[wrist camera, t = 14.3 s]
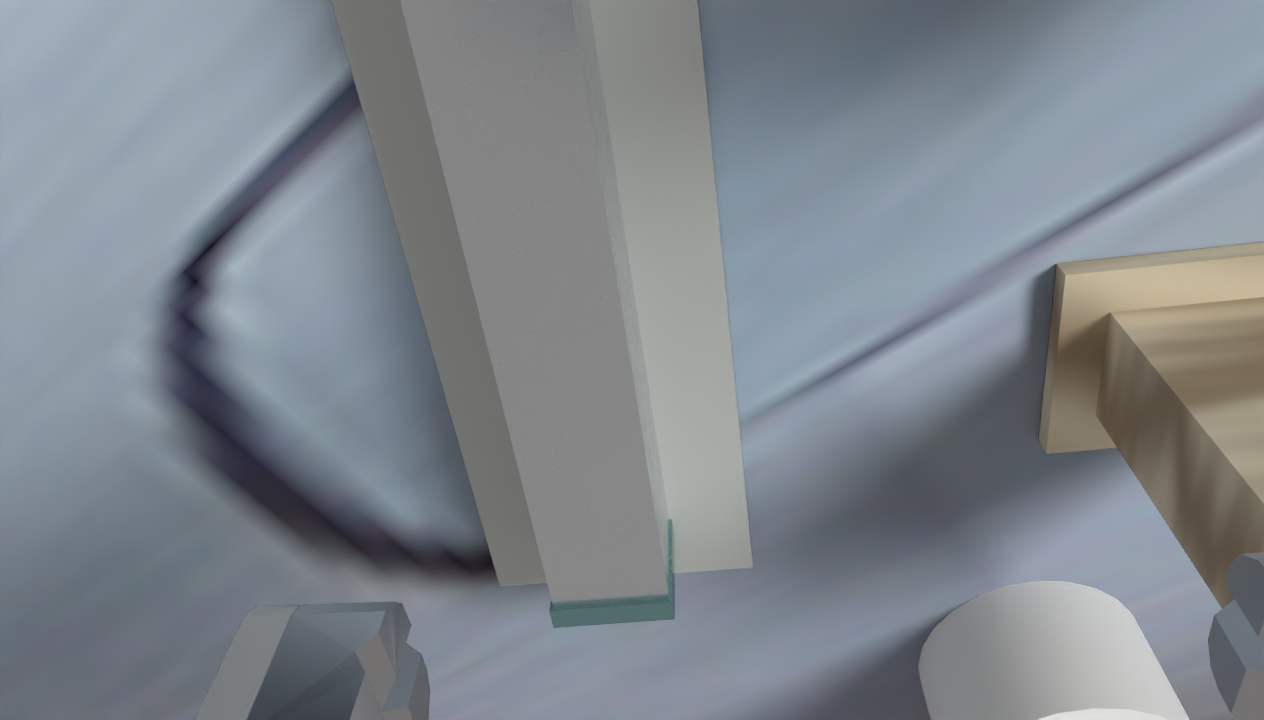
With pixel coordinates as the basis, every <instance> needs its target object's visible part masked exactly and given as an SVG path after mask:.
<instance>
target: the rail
mask: <svg viewBox="0 0 1264 720" xmlns="http://www.w3.org/2000/svg"><path fill="white" fill-rule="evenodd" d="M400 2H401V6H402V10H403V14H404V18H405V22H406V26H407V30H408V34H409V38H410V42H411V46H412V50H413V54H414V58H415V62H416V66H417V70H418V74H419V78H420V81H421V85H422V89H423V93H424V97H425V101H426V105H427V109H428V113H429V117H430V121H431V125H432V129H433V133H434V137H435V141H436V145H437V149H438V153H439V157H440V161H441V165H442V169H443V173H444V177H445V181H446V185H447V188H448V192H449V196H450V200H451V204H452V208H453V212H454V216H455V220H456V224H457V228H458V232H459V236H460V240H461V244H462V248H463V252H464V256H465V260H466V264H467V268H468V272H469V276H470V280H471V284H472V288H473V292H474V296H475V299H476V303H477V307H478V311H479V315H480V319H481V323H482V327H483V331H484V335H485V339H486V343H487V347H488V351H489V355H490V359H491V363H492V367H493V371H494V375H495V379H496V383H497V387H498V391H499V395H500V399H501V403H502V407H503V410H504V414H505V418H506V422H507V426H508V430H509V434H510V438H511V442H512V446H513V450H514V454H515V458H516V462H517V466H518V470H519V474H520V478H521V482H522V486H523V490H524V494H525V498H526V502H527V506H528V510H529V514H530V518H531V521H532V525H533V529H534V533H535V537H536V541H537V545H538V549H539V553H540V557H541V561H542V565H543V569H544V573H545V577H546V581H547V585H548V589H549V593H550V597H551V605H550V615H551V619H552V623H553V627H554V628H558V627H572V626H586V625H600V624H614V623H628V622H642V621H656V620H670V619H675V584H674V530H673V524H672V519H669V515H668V508H667V502H666V495H665V489H664V482H663V476H662V469H661V463H660V457H659V450H658V444H657V437H656V431H655V424H654V418H653V411H652V405H651V398H650V392H649V385H648V379H647V372H646V366H645V359H644V353H643V346H642V340H641V333H640V327H639V320H638V314H637V307H636V301H635V294H634V288H633V281H632V275H631V268H630V262H629V255H628V249H627V242H626V236H625V229H624V223H623V216H622V210H621V203H620V197H619V190H618V184H617V177H616V171H615V164H614V158H613V151H612V145H611V138H610V132H609V125H608V119H607V112H606V106H605V99H604V93H603V86H602V80H601V73H600V67H599V60H598V54H597V47H596V41H595V34H594V28H593V21H592V15H591V8H590V2H589V0H400Z"/></svg>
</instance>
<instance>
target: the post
mask: <svg viewBox="0 0 1264 720" xmlns="http://www.w3.org/2000/svg"><path fill="white" fill-rule="evenodd" d="M1039 442H1040V444H1041V446H1042V447H1043V449H1044V451H1045V453H1046V454H1053V453H1065V452H1076V451H1088V450H1100V449H1111V448H1118V450H1119V451H1120V453H1121V454H1122V456H1123V458H1124V459H1125V461H1126V462H1127V464H1128V465H1129V467H1130V468H1131V470H1132V471H1133V473H1134V474H1135V476H1136V477H1137V479H1138V480H1139V482H1140V484H1141V485H1142V487H1143V488H1144V490H1145V491H1146V493H1147V494H1148V496H1149V497H1150V499H1151V500H1152V502H1153V503H1154V505H1155V506H1156V508H1157V509H1158V511H1159V513H1160V514H1161V516H1162V517H1163V519H1164V520H1165V522H1166V523H1167V525H1168V526H1169V528H1170V529H1171V531H1172V532H1173V534H1174V535H1175V537H1176V539H1177V540H1178V542H1179V543H1180V545H1181V546H1182V548H1183V549H1184V551H1185V552H1186V554H1187V555H1188V557H1189V558H1190V560H1191V561H1192V563H1193V565H1194V566H1195V568H1196V569H1197V571H1198V572H1199V574H1200V575H1201V577H1202V578H1203V580H1204V581H1205V583H1206V584H1207V586H1208V587H1209V589H1210V590H1211V592H1212V594H1213V595H1214V597H1215V598H1216V600H1217V601H1218V603H1219V604H1220V606H1221V607H1222V609H1223V608H1224V607H1225V606H1226V605H1228V604H1229V603H1230V602H1232V601H1233V600H1234V597H1233V596H1232V594H1231V592H1230V591H1229V589H1228V588H1227V586H1226V584H1225V580H1226V577H1227V574H1228V571H1229V568H1230V565H1231V563H1232V562H1233V561H1234V560H1235V559H1236V558H1237V557H1239V556H1240V555H1241V554H1248V553H1263V552H1264V242H1262V243H1252V244H1243V245H1233V246H1224V247H1214V248H1205V249H1195V250H1186V251H1176V252H1167V253H1157V254H1147V255H1138V256H1128V257H1119V258H1109V259H1100V260H1090V261H1081V262H1071V263H1062V264H1057V267H1056V277H1055V286H1054V296H1053V306H1052V316H1051V325H1050V335H1049V345H1048V355H1047V364H1046V374H1045V384H1044V393H1043V403H1042V413H1041V423H1040V432H1039Z"/></svg>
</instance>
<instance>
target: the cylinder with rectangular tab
mask: <svg viewBox="0 0 1264 720" xmlns="http://www.w3.org/2000/svg"><path fill="white" fill-rule="evenodd" d="M918 669H919V675H920V680H921V685H922V689H923V693H924V697H925V700H926V704H927V708H928V711H929V715H930V719H931V720H1189V718H1188V716H1187V714H1186V712H1185V711H1184V709H1183V707H1182V705H1181V703H1180V701H1179V699H1178V698H1177V696H1176V694H1175V692H1174V690H1173V688H1172V687H1171V685H1170V683H1169V681H1168V679H1167V677H1166V675H1165V674H1164V672H1163V670H1162V668H1161V666H1160V664H1159V663H1158V661H1157V659H1156V657H1155V655H1154V653H1153V651H1152V650H1151V648H1150V646H1149V644H1148V642H1147V640H1146V639H1145V637H1144V635H1143V633H1142V631H1141V629H1140V628H1139V626H1138V624H1137V622H1136V620H1135V618H1134V616H1133V615H1132V613H1130V612H1129V611H1128V610H1127V609H1126V608H1125V607H1124V606H1123V605H1122V604H1121V603H1120V602H1119V601H1118V600H1117V599H1116V598H1114V597H1112V596H1110V595H1108V594H1106V593H1104V592H1102V591H1100V590H1098V589H1096V588H1093V587H1089V586H1084V585H1080V584H1075V583H1071V582H1062V581H1034V582H1028V583H1022V584H1015V585H1009V586H1005V587H1002V588H999V589H996V590H993V591H991V592H988V593H985V594H982V595H979V596H977V597H975V598H973V599H972V600H970V601H968V602H967V603H965V604H963V605H961V606H960V607H958V608H956V609H955V610H953V611H952V612H951V613H950V614H949V615H947V616H946V617H945V618H944V619H943V620H942V621H941V622H940V623H939V624H938V625H937V626H936V627H935V628H934V629H933V630H932V632H931V634H930V635H929V637H928V639H927V640H926V642H925V643H924V645H923V647H922V651H921V655H920V660H919V664H918Z"/></svg>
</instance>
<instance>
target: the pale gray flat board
mask: <svg viewBox="0 0 1264 720" xmlns="http://www.w3.org/2000/svg"><path fill="white" fill-rule="evenodd" d="M331 2H332V6H333V9H334V12H335V16H336V19H337V23H338V26H339V30H340V33H341V37H342V40H343V44H344V47H345V51H346V54H347V58H348V61H349V65H350V68H351V71H352V75H353V78H354V82H355V85H356V89H357V92H358V96H359V99H360V103H361V106H362V110H363V113H364V117H365V120H366V124H367V127H368V130H369V134H370V137H371V141H372V144H373V148H374V151H375V155H376V158H377V162H378V165H379V169H380V172H381V176H382V179H383V183H384V186H385V189H386V193H387V196H388V200H389V203H390V207H391V210H392V214H393V217H394V221H395V224H396V228H397V231H398V235H399V238H400V242H401V245H402V248H403V252H404V255H405V259H406V262H407V266H408V269H409V273H410V276H411V280H412V283H413V287H414V290H415V294H416V297H417V301H418V304H419V307H420V311H421V314H422V318H423V321H424V325H425V328H426V332H427V335H428V339H429V342H430V346H431V349H432V353H433V356H434V359H435V363H436V366H437V370H438V373H439V377H440V380H441V384H442V387H443V391H444V394H445V398H446V401H447V405H448V408H449V412H450V415H451V418H452V422H453V425H454V429H455V432H456V436H457V439H458V443H459V446H460V450H461V453H462V457H463V460H464V464H465V467H466V471H467V474H468V477H469V481H470V484H471V488H472V491H473V495H474V498H475V502H476V505H477V509H478V512H479V516H480V519H481V523H482V526H483V530H484V533H485V536H486V540H487V543H488V547H489V550H490V554H491V557H492V561H493V564H494V568H495V571H496V575H497V578H498V582H499V585H500V587H506V586H519V585H532V584H545V583H547V581H546V577H545V573H544V569H543V565H542V561H541V557H540V553H539V549H538V545H537V541H536V537H535V533H534V529H533V525H532V521H531V518H530V514H529V510H528V506H527V502H526V498H525V494H524V490H523V486H522V482H521V478H520V474H519V470H518V466H517V462H516V458H515V454H514V450H513V446H512V442H511V438H510V434H509V430H508V426H507V422H506V418H505V414H504V410H503V407H502V403H501V399H500V395H499V391H498V387H497V383H496V379H495V375H494V371H493V367H492V363H491V359H490V355H489V351H488V347H487V343H486V339H485V335H484V331H483V327H482V323H481V319H480V315H479V311H478V307H477V303H476V299H475V296H474V292H473V288H472V284H471V280H470V276H469V272H468V268H467V264H466V260H465V256H464V252H463V248H462V244H461V240H460V236H459V232H458V228H457V224H456V220H455V216H454V212H453V208H452V204H451V200H450V196H449V192H448V188H447V185H446V181H445V177H444V173H443V169H442V165H441V161H440V157H439V153H438V149H437V145H436V141H435V137H434V133H433V129H432V125H431V121H430V117H429V113H428V109H427V105H426V101H425V97H424V93H423V89H422V85H421V81H420V78H419V74H418V70H417V66H416V62H415V58H414V54H413V50H412V46H411V42H410V38H409V34H408V30H407V26H406V22H405V18H404V14H403V10H402V6H401V2H400V0H331ZM589 2H590V8H591V15H592V21H593V28H594V34H595V41H596V47H597V54H598V60H599V67H600V73H601V80H602V86H603V93H604V99H605V106H606V112H607V119H608V125H609V132H610V138H611V145H612V151H613V158H614V164H615V171H616V177H617V184H618V190H619V197H620V203H621V210H622V216H623V223H624V229H625V236H626V242H627V249H628V255H629V262H630V268H631V275H632V281H633V288H634V294H635V301H636V307H637V314H638V320H639V327H640V333H641V340H642V346H643V353H644V359H645V366H646V372H647V379H648V385H649V392H650V398H651V405H652V411H653V418H654V424H655V431H656V437H657V444H658V450H659V457H660V463H661V469H662V476H663V482H664V489H665V495H666V502H667V508H668V515H669V519H672V524H673V530H674V574H676V573H689V572H702V571H715V570H729V569H742V568H753V562H752V552H751V542H750V531H749V521H748V511H747V501H746V491H745V480H744V470H743V460H742V450H741V439H740V429H739V419H738V409H737V399H736V388H735V378H734V368H733V358H732V347H731V337H730V327H729V317H728V306H727V296H726V286H725V276H724V266H723V255H722V245H721V235H720V225H719V214H718V204H717V194H716V184H715V174H714V163H713V153H712V143H711V133H710V122H709V112H708V102H707V92H706V81H705V71H704V61H703V51H702V41H701V30H700V20H699V10H698V0H589Z"/></svg>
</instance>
